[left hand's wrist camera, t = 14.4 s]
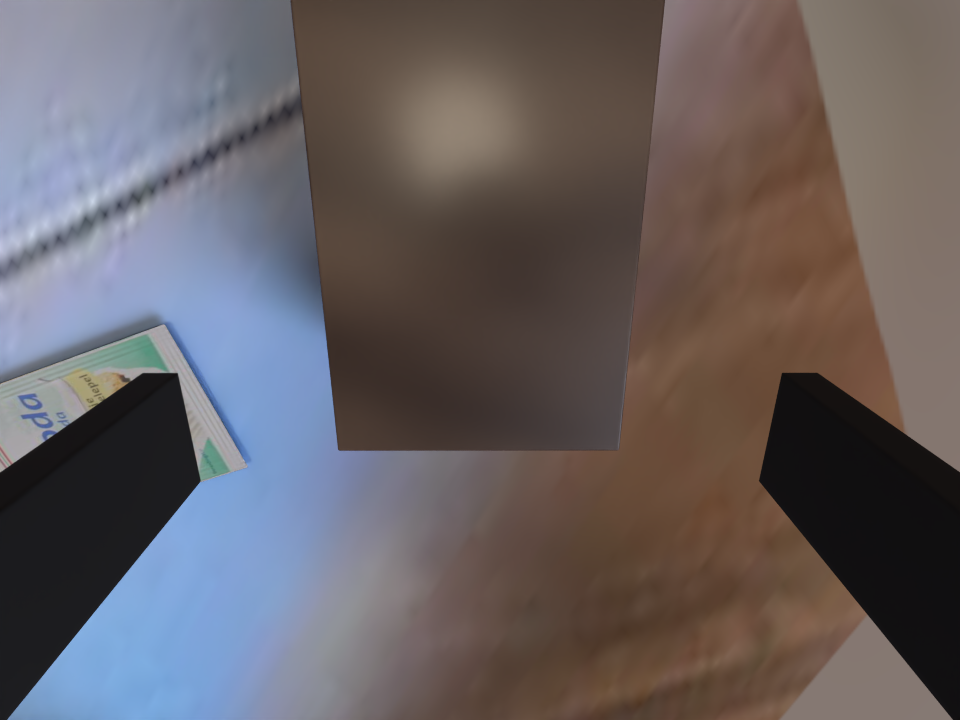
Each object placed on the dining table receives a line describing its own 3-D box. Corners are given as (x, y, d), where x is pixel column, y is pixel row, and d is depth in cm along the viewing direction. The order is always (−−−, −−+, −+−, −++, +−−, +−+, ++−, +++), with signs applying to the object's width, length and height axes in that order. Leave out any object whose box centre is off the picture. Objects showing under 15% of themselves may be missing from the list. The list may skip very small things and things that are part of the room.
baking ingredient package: (246, 469, 31) (20, 540, 33) (249, 464, 31) (26, 534, 34) (161, 325, 28) (-81, 413, 30) (166, 322, 28) (-73, 409, 31)
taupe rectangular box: (350, -57, 23) (270, -176, 14) (606, -57, 23) (684, -177, 14) (379, 359, 30) (337, 451, 21) (578, 358, 30) (619, 451, 21)
